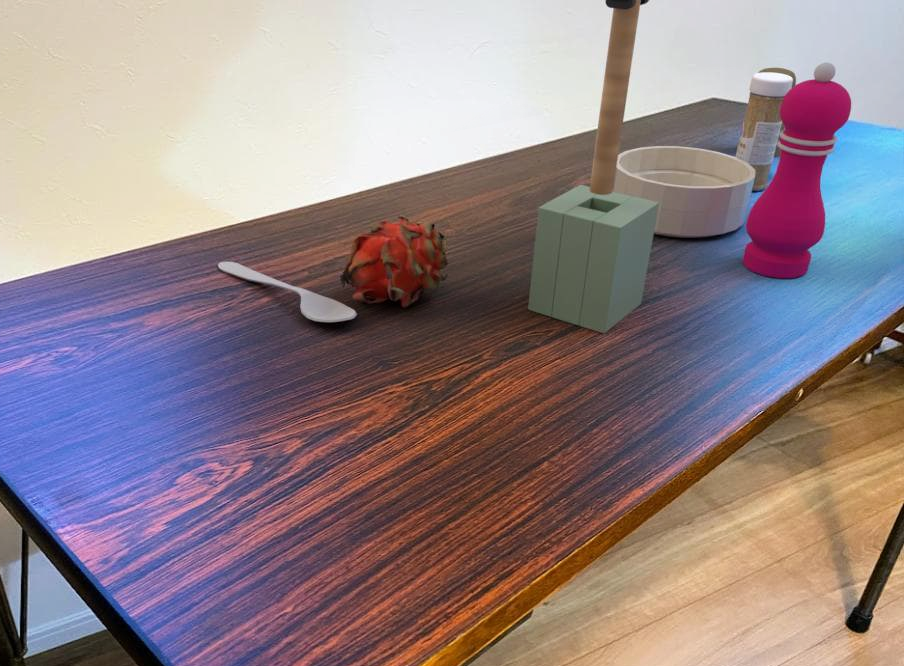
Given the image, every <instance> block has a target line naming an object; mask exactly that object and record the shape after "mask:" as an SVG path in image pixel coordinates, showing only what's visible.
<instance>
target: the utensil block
mask: <svg viewBox="0 0 904 666" xmlns="http://www.w3.org/2000/svg"><path fill="white" fill-rule="evenodd" d="M658 207H659V202H655V201H650V200H646V199H642V198H637V197H632V196H628V195H624V194H619V193H615V192H612V193H611V194H608V195H599V194H594V193H592V192H590V186H588V185H585V184H584V185H583V184H579V185H577V186H575V187H573V188H572V189H570V190H568V191H566V192H564V193H562V194H561V195H559V196H557V197H554V198H553V199H551V200H549V201H547V202H545V203H544V204H542V205H540V206H538V210H537V221H536V228H535V229H536V230H535V238H534V249H533V257H532V266H531V268H532V269H531V276H530V277H531V278H530V288H529V295H528V304H527V305H528V307H527V311H531V312H534V313H537V314H539V315H544V316H547V317H550V318H553V319H556V320H560V321H563V322H566V323H569V324H571V325H575V326H577V327H578V326H579V327H582V328H584V329H588V330H591V331H594V332H597V333H601V334H606V333H607V332H608V331H609V330H611V329H612V328H613V327H614V326H616V325H617V324H618V323H620V322H621V321H622V320H623V319H625V317H627V316H628V315H629V314H631V313H632V312H633V311H634V310H636V309H637V308H638V307H640V306H641V305H642V302H643V296H644V290H645V286H646V280H647V273H648V267H649V262H650V258H651V257H650V256H651V251H652V245H653V241H654V235H655V234H654V229H655V223H656V218H657V212H658Z"/></svg>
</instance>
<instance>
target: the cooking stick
mask: <svg viewBox="0 0 904 666" xmlns="http://www.w3.org/2000/svg"><path fill="white" fill-rule="evenodd" d="M640 3H641V0H636V3H635V5H634V7H632V8H629V9H617V8H612V14H611V15H612V16H611V23H610V31H609V39H608V46H607V53H606V62H605V68H604V76H603V85H602V91H601V98H600V99H601V100H600V108H599V115H598V123H597V129H596V138H595V146H594V152H593V160H592V168H591V169H592V170H591V174H590V175H591V177H590V182H589V187H590V192H592V193H594V194H599V195H608V194H611V193H612V192H613V187H614V180H615V174H616V167H617V160H618V155H619V154H620V153H619V152H620V146H621V139H622V134H623V133H622V132H623V125H624V119H625V111H626V105H627V98H628V92H629V91H628V90H629V84H630V77H631V70H632V64H633V57H634V51H635V50H634V49H635V45H636V44H635V43H636V36H637V29H638V23H639V16H640V9H641V5H640Z"/></svg>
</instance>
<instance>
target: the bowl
mask: <svg viewBox="0 0 904 666" xmlns="http://www.w3.org/2000/svg"><path fill="white" fill-rule="evenodd" d="M754 179H755V169H754V168H753V167H752V166H751V165H750V164H749V163H747V162H745V161H743V160H740V159H738V158H736V156H733V155H729V154H728V153H727V154H726V153H723V152H720V151H716V150H710V149H706V148H705V149H704V148H699V147H690V146H679V145H656V146H654V145H653V146H643V147H637V148H634V149H627V150H624V151H623V152H621V153H618V160H617V167H616V174H615V180H614V187H613V192H615V193H619V194H624V195H628V196H632V197H637V198H642V199H646V200H650V201H655V202H659V207H658V212H657V218H656V223H655V229H654V235H659V236H663V237H671V238H686V239H689V238H691V239H692V238H693V239H694V238H709V237H713V236H714V237H715V236H718V235H724V234H726V233H727V234H728V233H730V232H733V231H736V230H738V229H739V228H740V227H741V226H743V225H744V224H745V223H746V222H745V221H746V218H747V214H748V210H749V209H748V208H749V205H750V200H751V196H752V192H753V191H752V188H753V184H754Z"/></svg>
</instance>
